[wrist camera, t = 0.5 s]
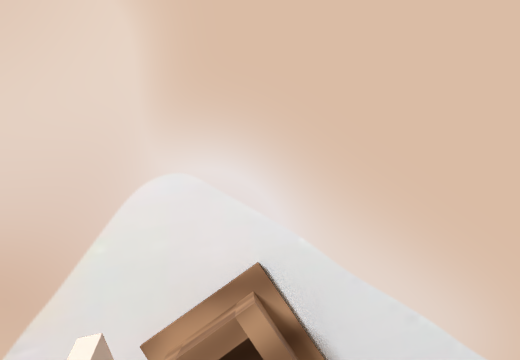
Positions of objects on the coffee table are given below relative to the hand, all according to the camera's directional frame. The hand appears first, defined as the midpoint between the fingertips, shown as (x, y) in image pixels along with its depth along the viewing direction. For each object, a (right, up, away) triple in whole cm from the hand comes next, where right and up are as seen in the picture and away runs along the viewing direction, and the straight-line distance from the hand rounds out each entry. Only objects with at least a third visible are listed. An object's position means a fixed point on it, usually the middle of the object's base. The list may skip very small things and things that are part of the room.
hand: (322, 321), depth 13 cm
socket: (-4, -14, +29) cm, 33 cm away
